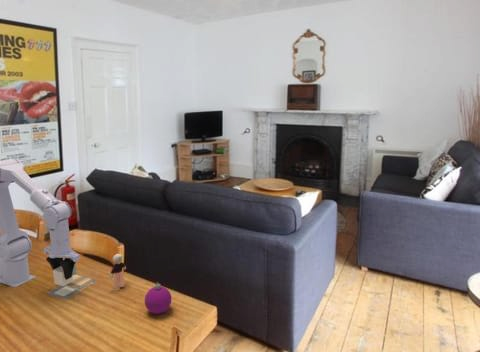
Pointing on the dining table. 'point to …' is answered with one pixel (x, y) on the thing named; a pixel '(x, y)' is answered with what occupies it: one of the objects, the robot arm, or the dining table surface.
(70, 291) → the slate mat
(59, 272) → the cream block
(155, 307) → the christmas ornament
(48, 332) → the dining table surface
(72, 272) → the teal block
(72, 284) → the beech brick
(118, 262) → the grandmother figurine
